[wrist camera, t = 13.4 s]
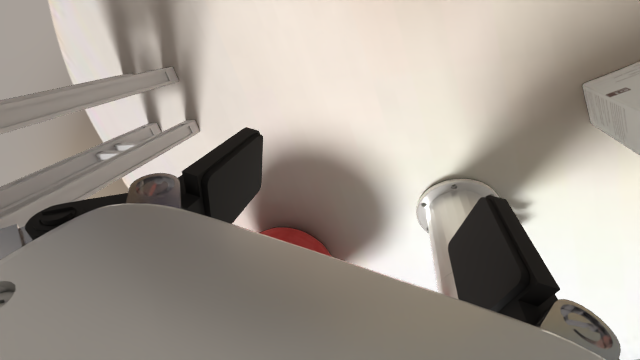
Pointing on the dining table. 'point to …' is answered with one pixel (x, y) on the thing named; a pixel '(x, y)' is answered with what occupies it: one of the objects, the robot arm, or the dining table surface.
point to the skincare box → (616, 105)
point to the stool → (90, 165)
